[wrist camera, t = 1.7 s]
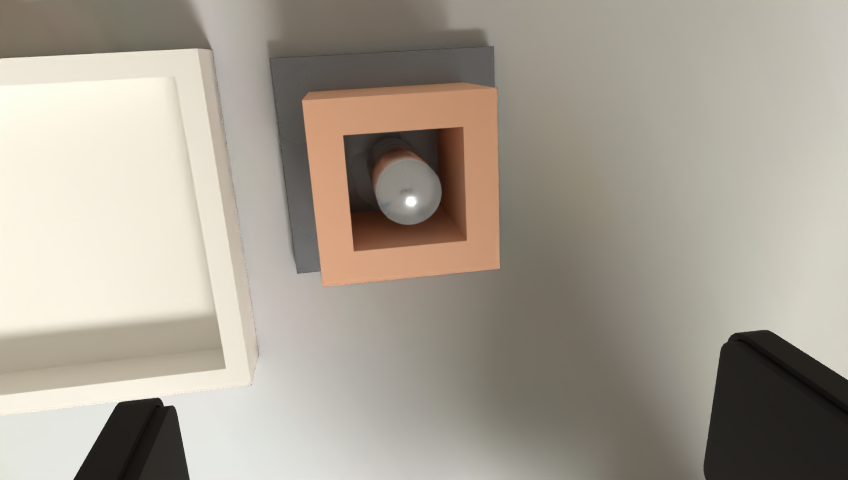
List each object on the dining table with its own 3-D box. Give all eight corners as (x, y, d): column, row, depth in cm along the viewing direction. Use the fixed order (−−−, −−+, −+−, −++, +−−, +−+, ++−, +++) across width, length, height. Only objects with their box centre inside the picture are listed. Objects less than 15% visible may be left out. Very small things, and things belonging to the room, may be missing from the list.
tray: (212, 49, 26) (197, 48, 23) (259, 354, 30) (251, 385, 27) (-168, 69, 24) (-236, 70, 21) (-58, 391, 28) (-101, 427, 26)
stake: (489, 46, 27) (542, 41, 21) (493, 249, 30) (539, 304, 24) (271, 58, 26) (249, 57, 19) (297, 268, 29) (287, 332, 22)
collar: (462, 82, 27) (497, 88, 21) (467, 227, 29) (499, 268, 23) (308, 91, 26) (301, 100, 20) (325, 241, 28) (323, 286, 22)
